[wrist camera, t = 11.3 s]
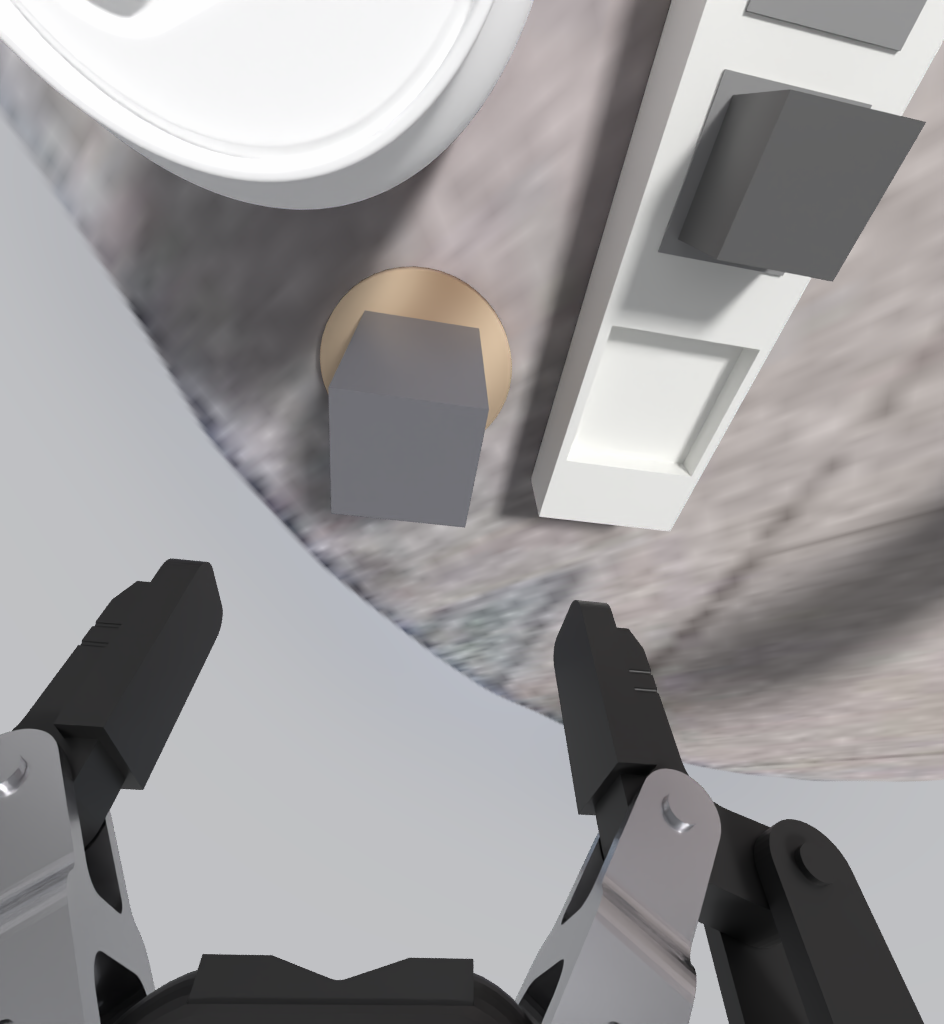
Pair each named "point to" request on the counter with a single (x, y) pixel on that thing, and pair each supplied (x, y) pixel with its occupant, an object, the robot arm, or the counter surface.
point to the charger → (407, 420)
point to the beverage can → (274, 84)
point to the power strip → (675, 308)
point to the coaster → (427, 300)
